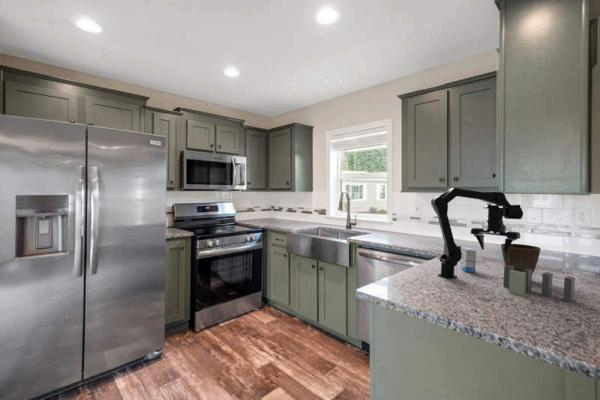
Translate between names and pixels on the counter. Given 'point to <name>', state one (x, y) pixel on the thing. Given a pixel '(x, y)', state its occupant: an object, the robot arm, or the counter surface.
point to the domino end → (569, 289)
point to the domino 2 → (528, 279)
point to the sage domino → (517, 282)
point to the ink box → (468, 259)
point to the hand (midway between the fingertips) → (493, 251)
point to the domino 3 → (547, 284)
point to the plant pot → (521, 256)
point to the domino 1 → (507, 275)
